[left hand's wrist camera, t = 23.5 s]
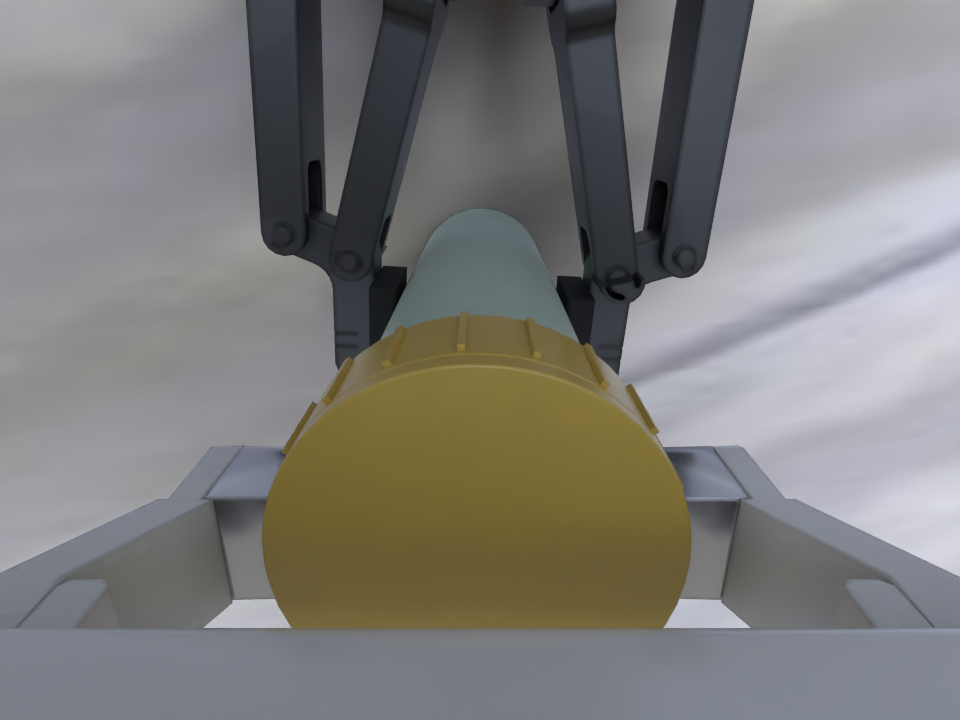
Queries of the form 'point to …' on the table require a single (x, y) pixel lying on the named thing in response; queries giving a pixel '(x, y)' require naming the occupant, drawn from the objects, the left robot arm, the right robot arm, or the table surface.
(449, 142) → the table surface
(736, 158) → the table surface
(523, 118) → the table surface
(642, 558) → the lid
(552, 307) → the jar
